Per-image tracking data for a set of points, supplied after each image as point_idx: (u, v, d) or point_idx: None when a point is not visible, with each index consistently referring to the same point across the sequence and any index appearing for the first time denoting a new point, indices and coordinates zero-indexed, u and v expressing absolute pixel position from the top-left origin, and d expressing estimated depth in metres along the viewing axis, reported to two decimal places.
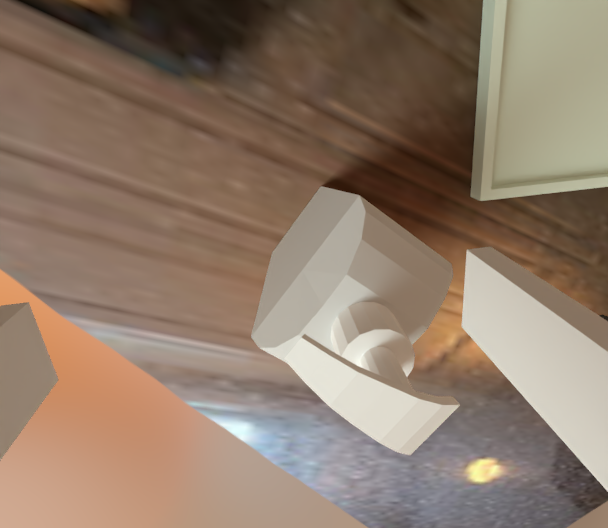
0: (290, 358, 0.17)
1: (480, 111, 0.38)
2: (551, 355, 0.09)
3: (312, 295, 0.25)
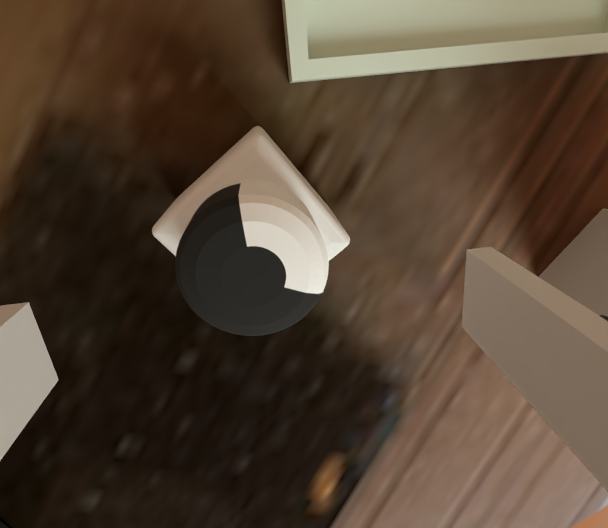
0: None
1: (489, 63, 0.24)
2: (551, 355, 0.09)
3: None
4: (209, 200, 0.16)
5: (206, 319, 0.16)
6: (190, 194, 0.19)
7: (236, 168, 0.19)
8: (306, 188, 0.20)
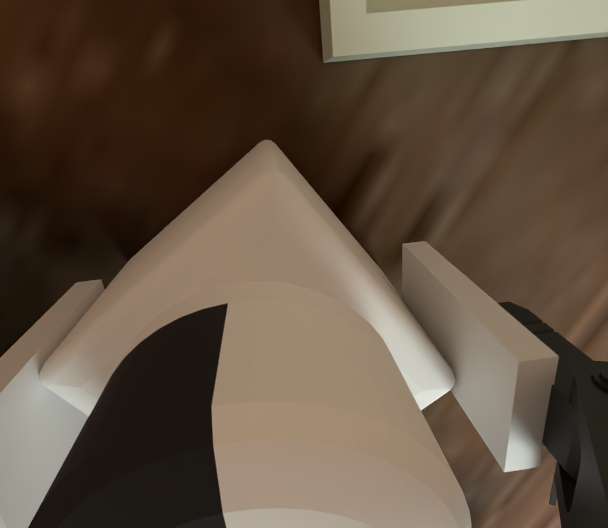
0: None
1: None
2: (456, 337, 0.10)
3: None
4: (136, 372, 0.06)
5: None
6: (118, 303, 0.09)
7: (220, 250, 0.08)
8: (375, 285, 0.09)
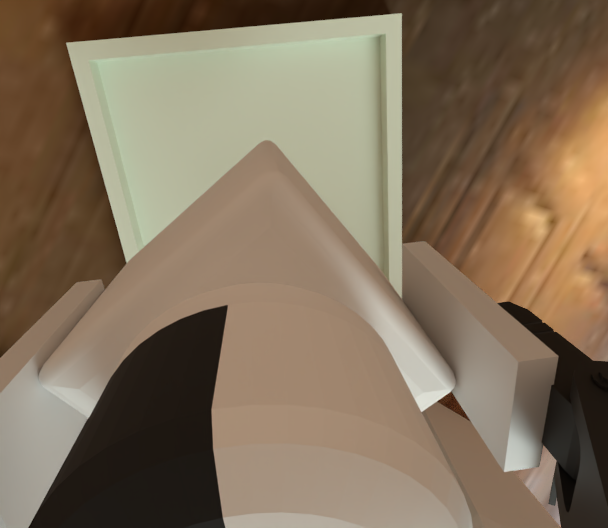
0: None
1: None
2: (456, 337, 0.10)
3: None
4: (136, 374, 0.06)
5: None
6: (118, 304, 0.09)
7: (220, 251, 0.08)
8: (376, 287, 0.09)
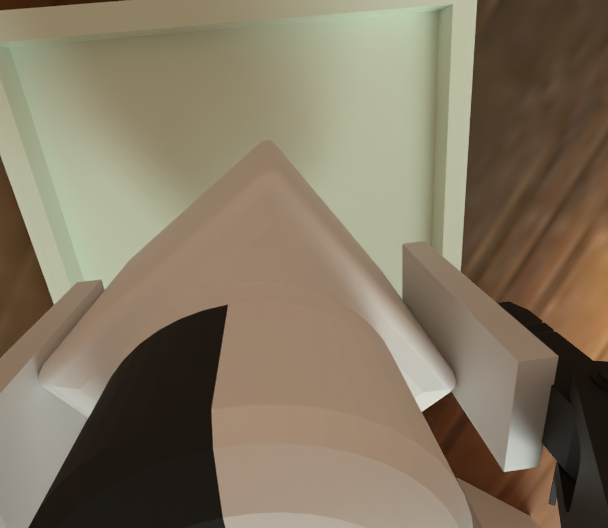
0: None
1: None
2: (456, 337, 0.10)
3: None
4: (136, 374, 0.06)
5: None
6: (118, 304, 0.08)
7: (220, 251, 0.08)
8: (376, 286, 0.09)
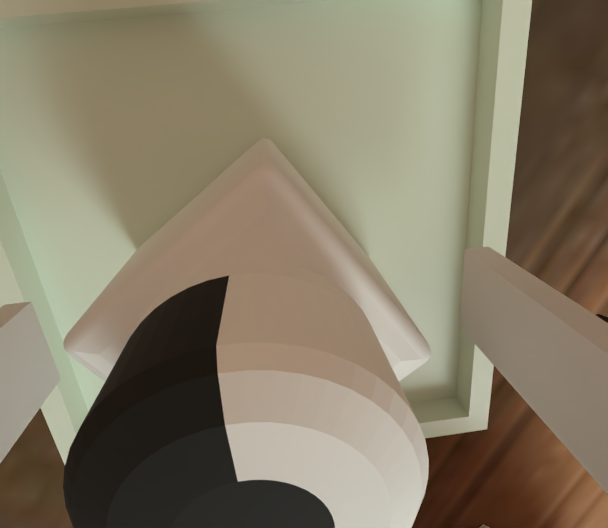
0: None
1: None
2: (547, 354, 0.09)
3: None
4: (154, 328, 0.07)
5: None
6: (133, 279, 0.10)
7: (222, 233, 0.09)
8: (358, 266, 0.10)
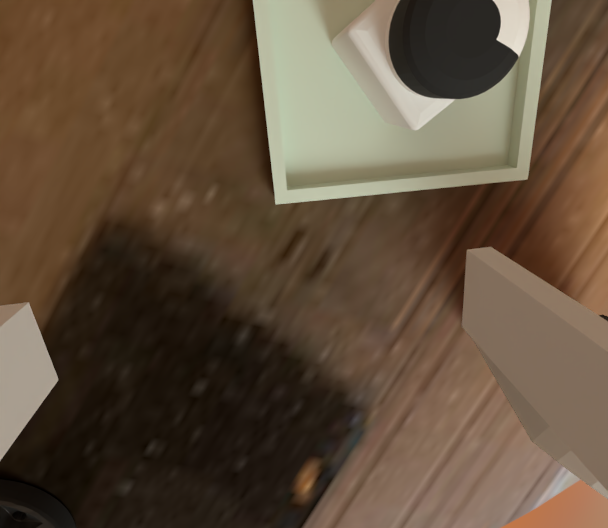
0: None
1: None
2: (551, 355, 0.09)
3: None
4: None
5: (421, 74, 0.19)
6: None
7: None
8: None
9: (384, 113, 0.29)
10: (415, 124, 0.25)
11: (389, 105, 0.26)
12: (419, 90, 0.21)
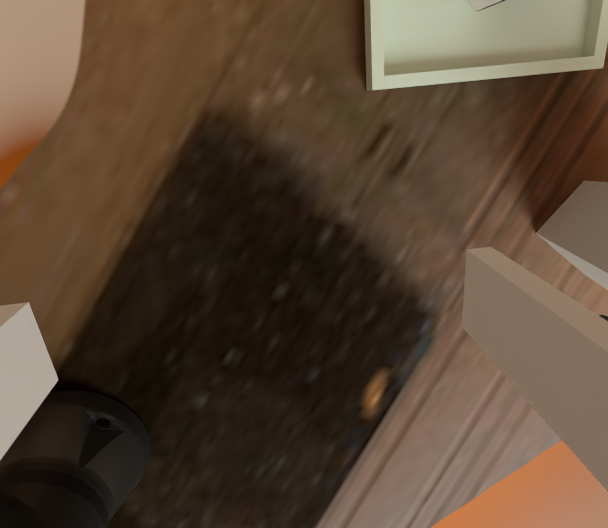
0: None
1: None
2: (551, 355, 0.09)
3: None
4: None
5: None
6: None
7: None
8: None
9: None
10: None
11: None
12: None
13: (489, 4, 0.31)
